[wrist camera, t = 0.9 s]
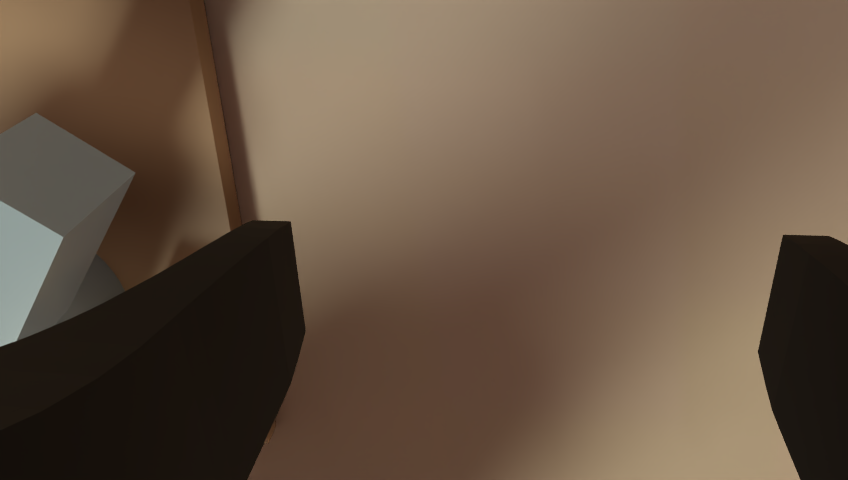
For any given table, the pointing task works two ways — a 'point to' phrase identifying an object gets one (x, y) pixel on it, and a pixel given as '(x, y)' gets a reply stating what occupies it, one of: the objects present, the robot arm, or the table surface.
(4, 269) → the grey block
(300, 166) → the table surface
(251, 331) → the robot arm
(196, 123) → the cradle
